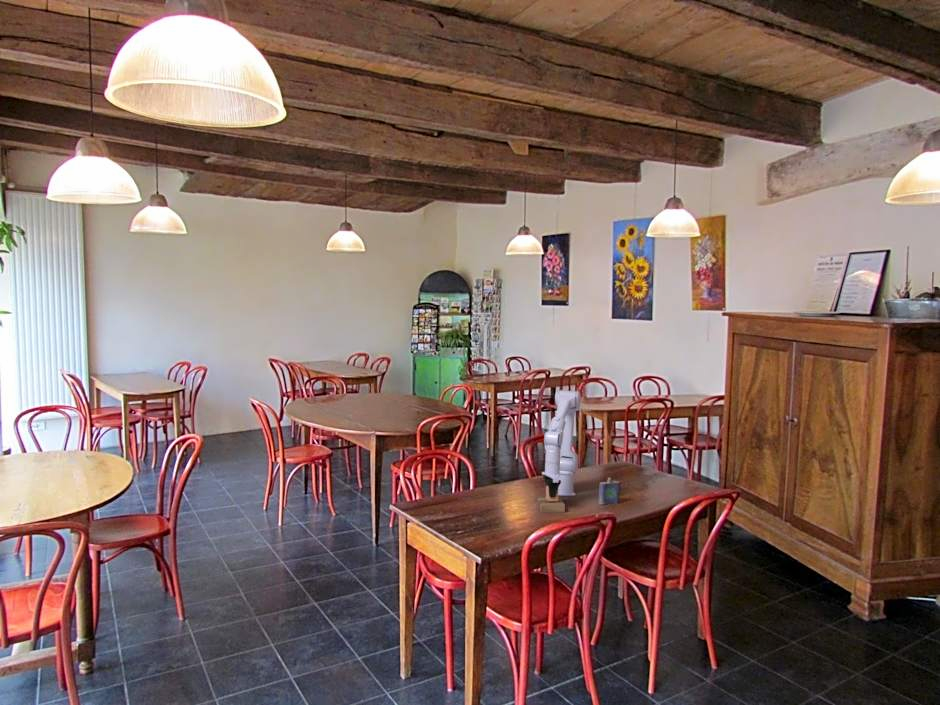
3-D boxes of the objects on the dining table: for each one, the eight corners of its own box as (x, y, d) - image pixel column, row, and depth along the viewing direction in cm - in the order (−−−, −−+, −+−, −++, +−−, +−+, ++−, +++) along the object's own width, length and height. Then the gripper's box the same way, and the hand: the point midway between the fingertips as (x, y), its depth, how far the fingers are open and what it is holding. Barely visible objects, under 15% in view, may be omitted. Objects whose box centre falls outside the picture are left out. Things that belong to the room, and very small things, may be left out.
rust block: (545, 497, 255) (546, 485, 254) (555, 497, 255) (556, 485, 255) (547, 501, 251) (548, 488, 251) (557, 501, 251) (558, 488, 251)
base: (537, 504, 258) (537, 497, 257) (559, 504, 258) (559, 497, 258) (541, 512, 249) (541, 504, 248) (564, 512, 249) (564, 504, 249)
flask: (600, 505, 259) (601, 479, 258) (596, 503, 261) (597, 477, 260) (620, 504, 262) (621, 478, 261) (616, 501, 264) (617, 476, 263)
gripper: (539, 456, 259) (537, 489, 260) (546, 466, 244) (544, 501, 245) (556, 456, 259) (555, 489, 260) (564, 466, 245) (563, 501, 246)
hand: (551, 495), depth 253 cm, fingers closed on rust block, 4 cm apart
